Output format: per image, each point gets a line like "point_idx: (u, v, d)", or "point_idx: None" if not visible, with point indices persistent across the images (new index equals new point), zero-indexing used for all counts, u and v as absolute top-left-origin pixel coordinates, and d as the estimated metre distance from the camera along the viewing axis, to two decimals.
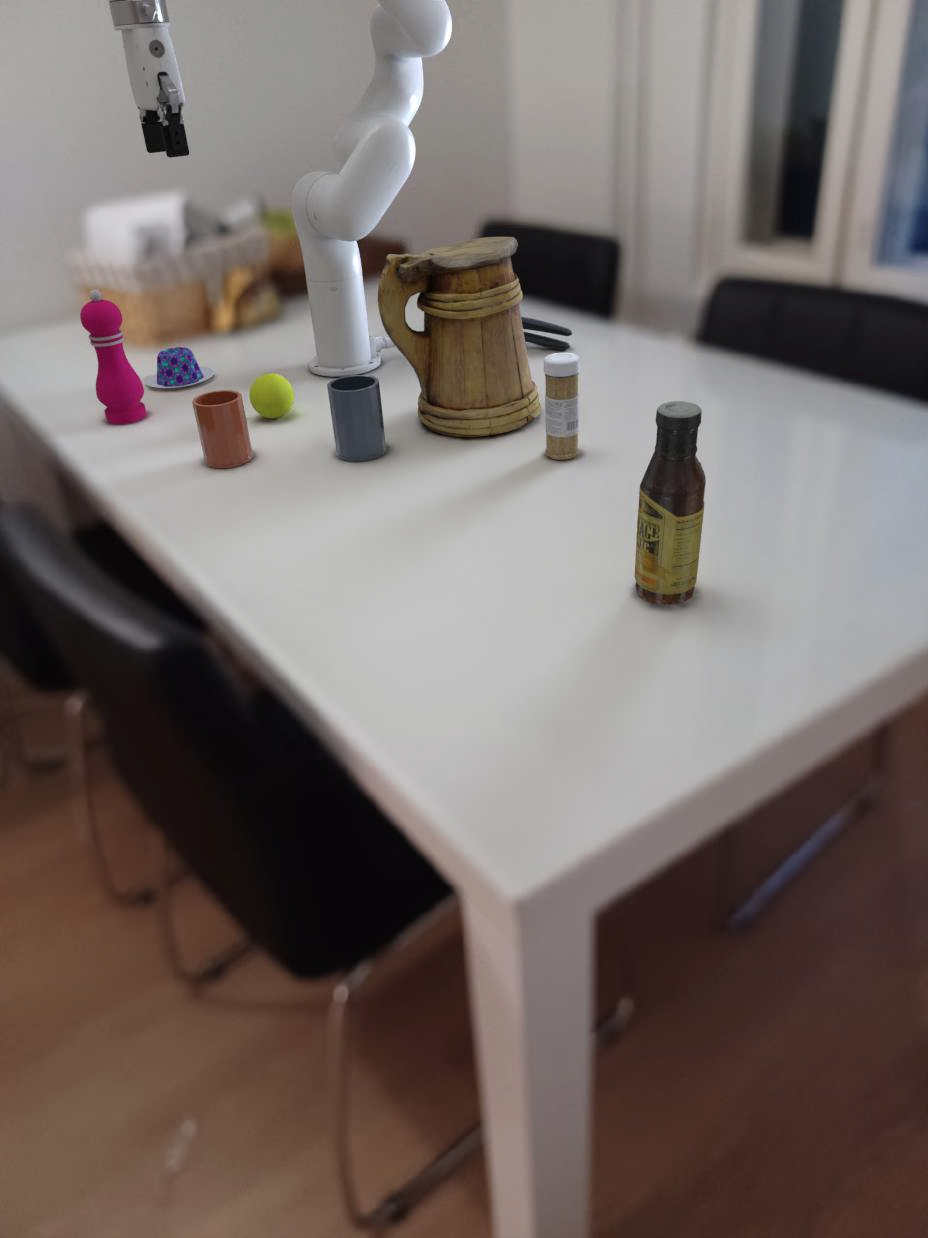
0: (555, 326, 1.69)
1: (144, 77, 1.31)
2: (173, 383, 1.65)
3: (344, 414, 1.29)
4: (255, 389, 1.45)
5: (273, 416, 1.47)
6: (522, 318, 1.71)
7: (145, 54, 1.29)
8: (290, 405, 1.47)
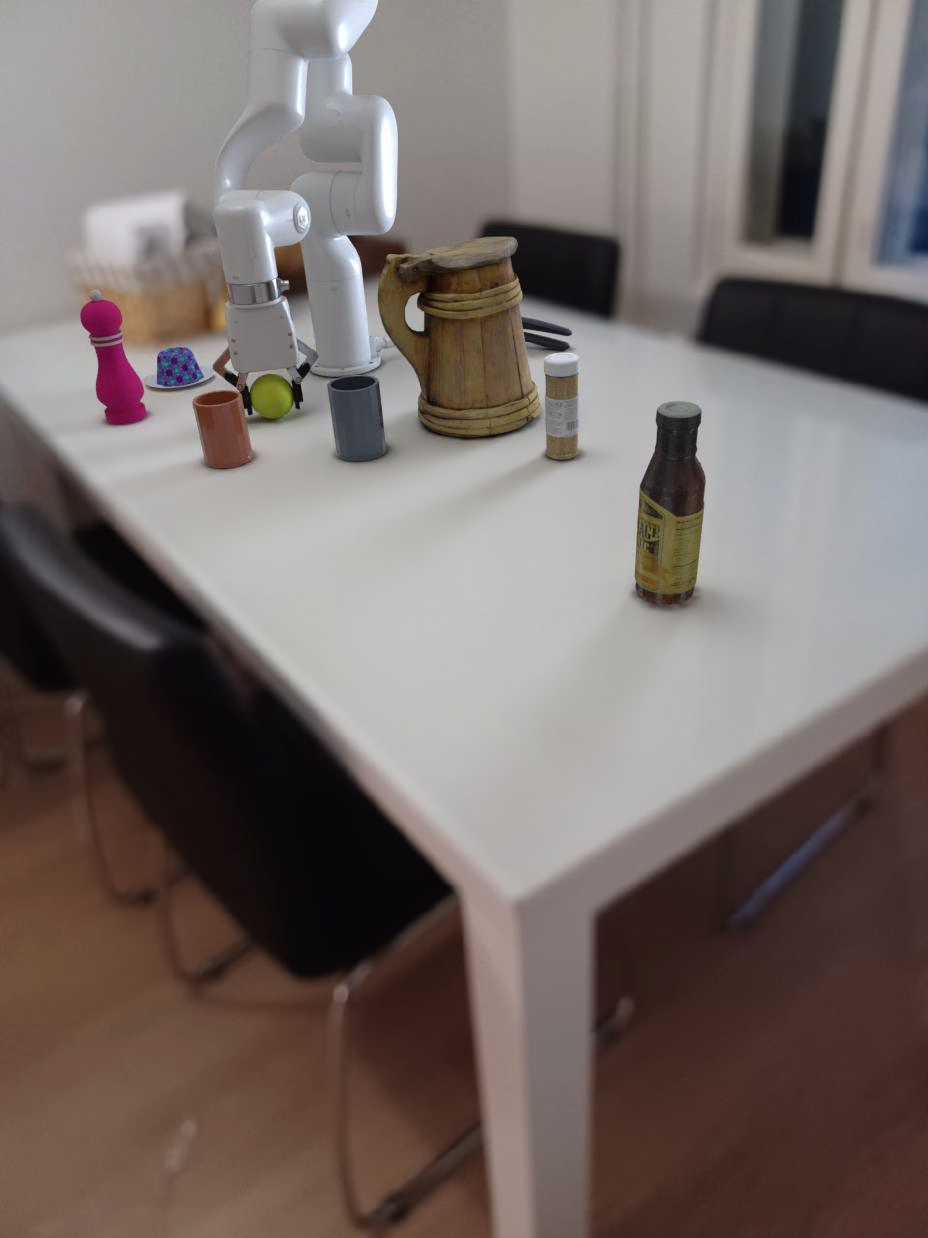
0: (555, 326, 1.69)
1: (289, 341, 1.42)
2: (173, 383, 1.65)
3: (344, 414, 1.29)
4: (255, 389, 1.45)
5: (273, 416, 1.47)
6: (522, 318, 1.71)
7: (291, 322, 1.41)
8: (290, 405, 1.47)
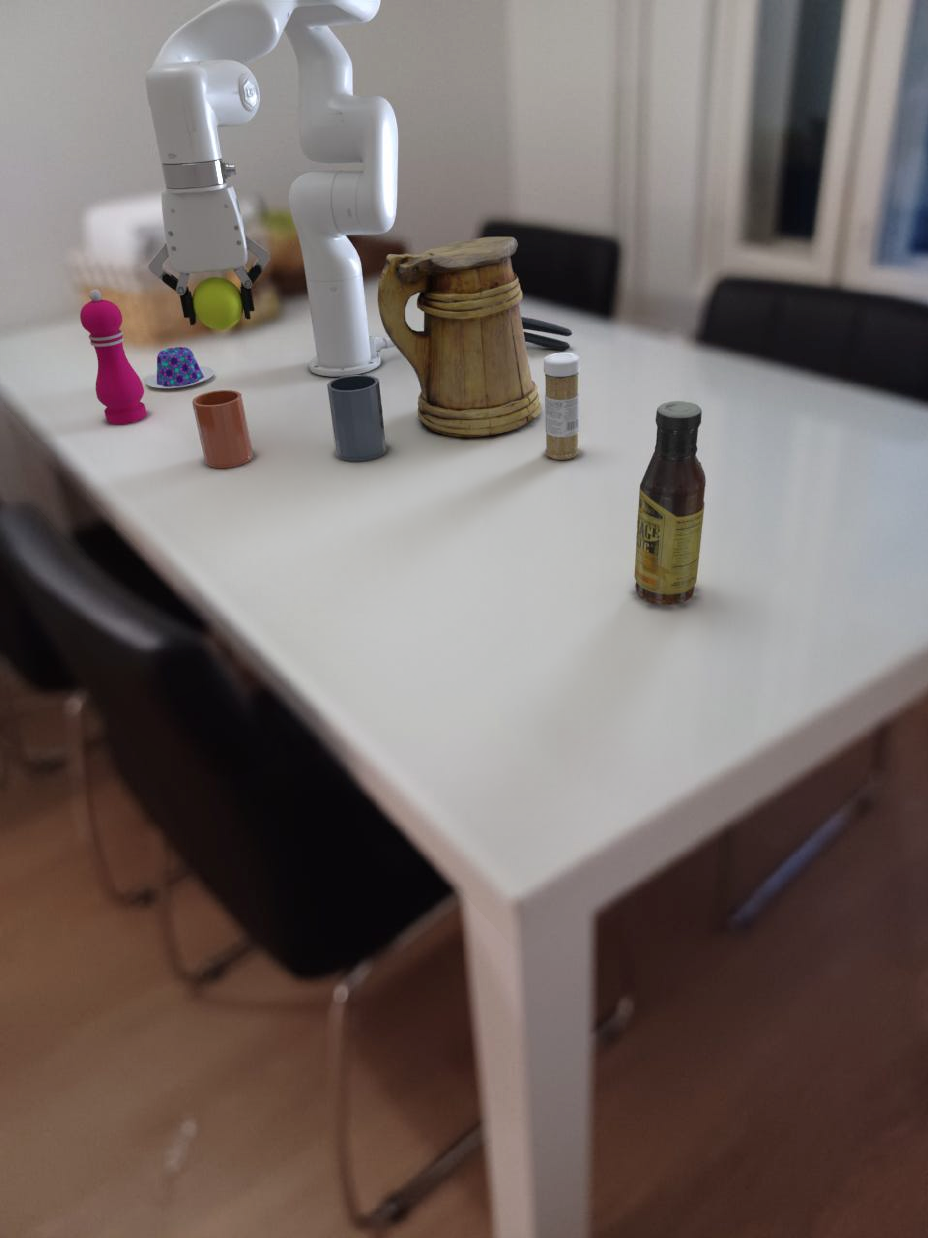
0: (555, 326, 1.69)
1: (235, 236, 1.24)
2: (173, 383, 1.65)
3: (344, 414, 1.29)
4: (198, 293, 1.26)
5: (219, 326, 1.29)
6: (522, 318, 1.71)
7: (237, 213, 1.23)
8: (238, 314, 1.29)
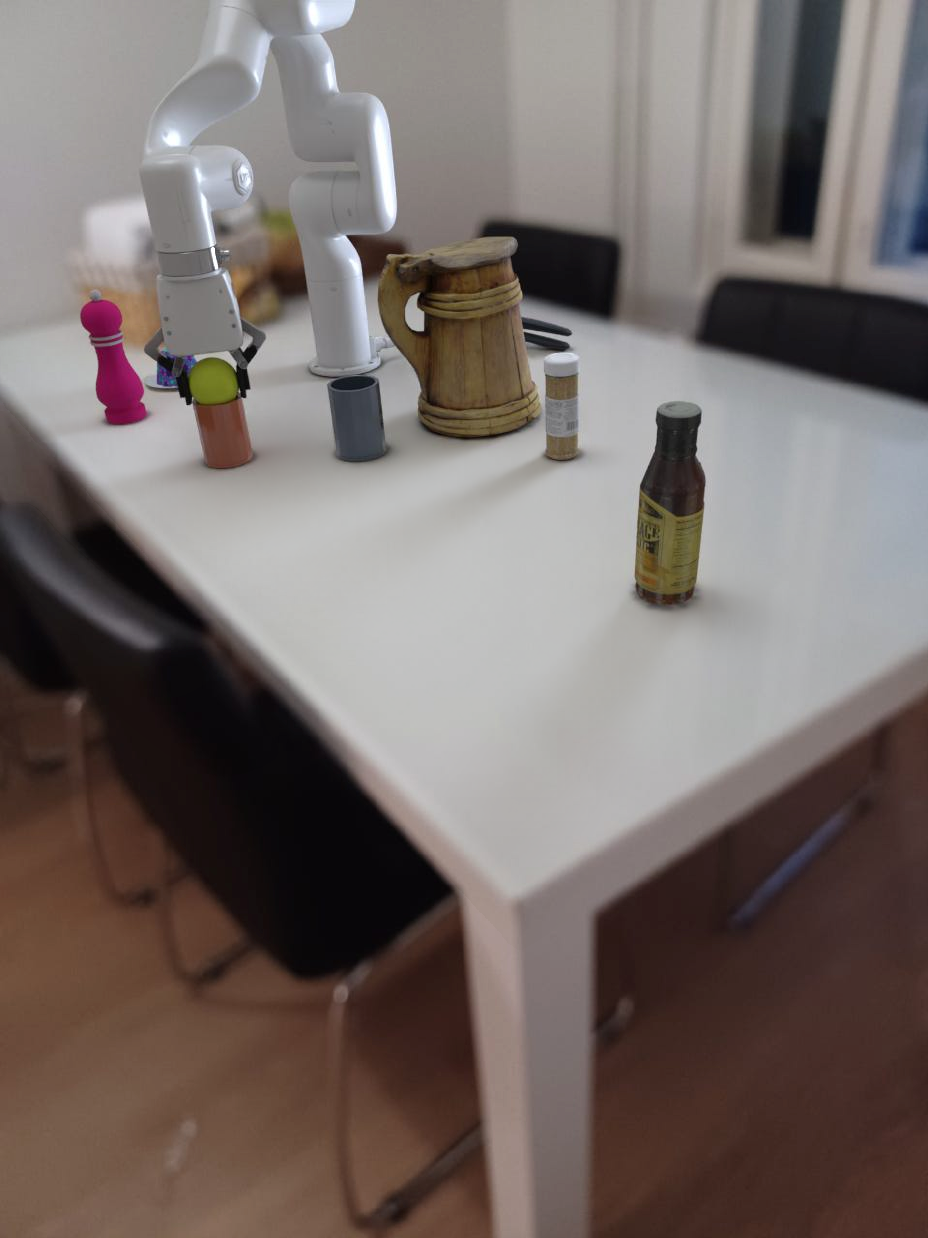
0: (555, 326, 1.69)
1: (231, 319, 1.24)
2: (173, 383, 1.65)
3: (344, 414, 1.29)
4: (194, 375, 1.27)
5: None
6: (522, 318, 1.71)
7: (232, 297, 1.23)
8: (234, 394, 1.29)
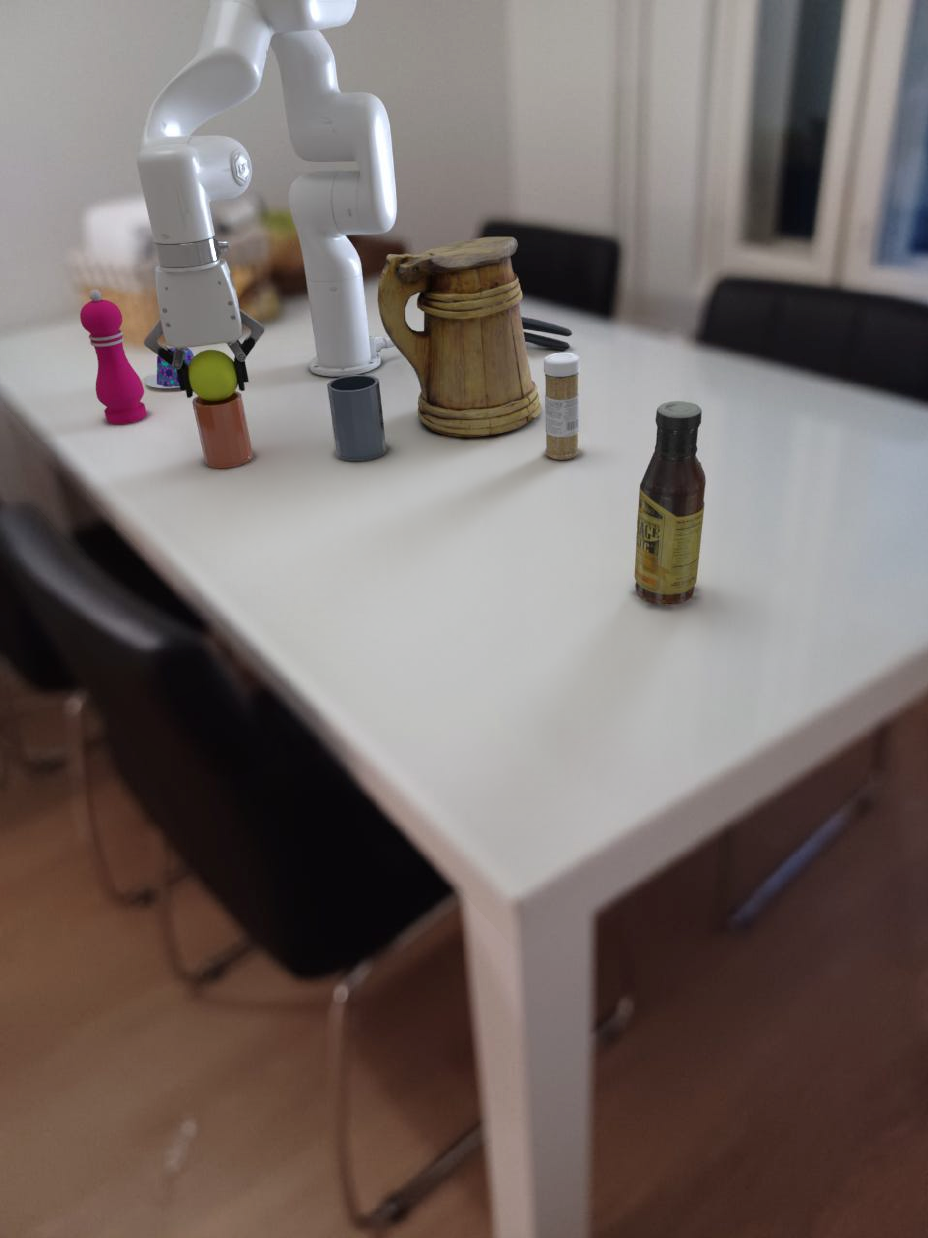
0: (555, 326, 1.69)
1: (230, 311, 1.23)
2: (173, 383, 1.65)
3: (344, 414, 1.29)
4: (193, 367, 1.26)
5: (214, 399, 1.29)
6: (522, 318, 1.71)
7: (231, 289, 1.22)
8: (234, 386, 1.29)
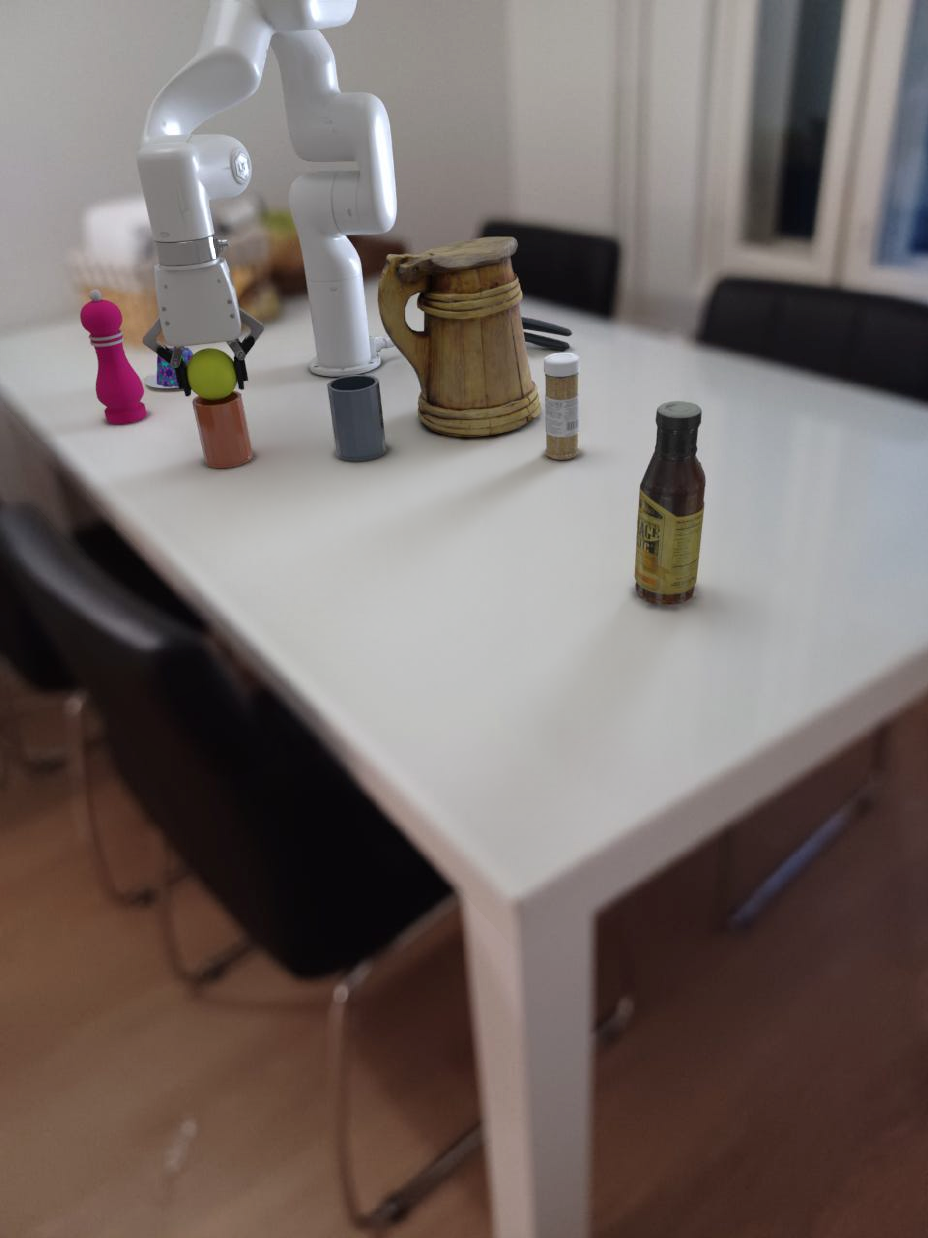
0: (555, 326, 1.69)
1: (229, 309, 1.23)
2: (173, 383, 1.65)
3: (344, 414, 1.29)
4: (192, 366, 1.26)
5: (213, 397, 1.28)
6: (522, 318, 1.71)
7: (230, 287, 1.22)
8: (233, 385, 1.29)
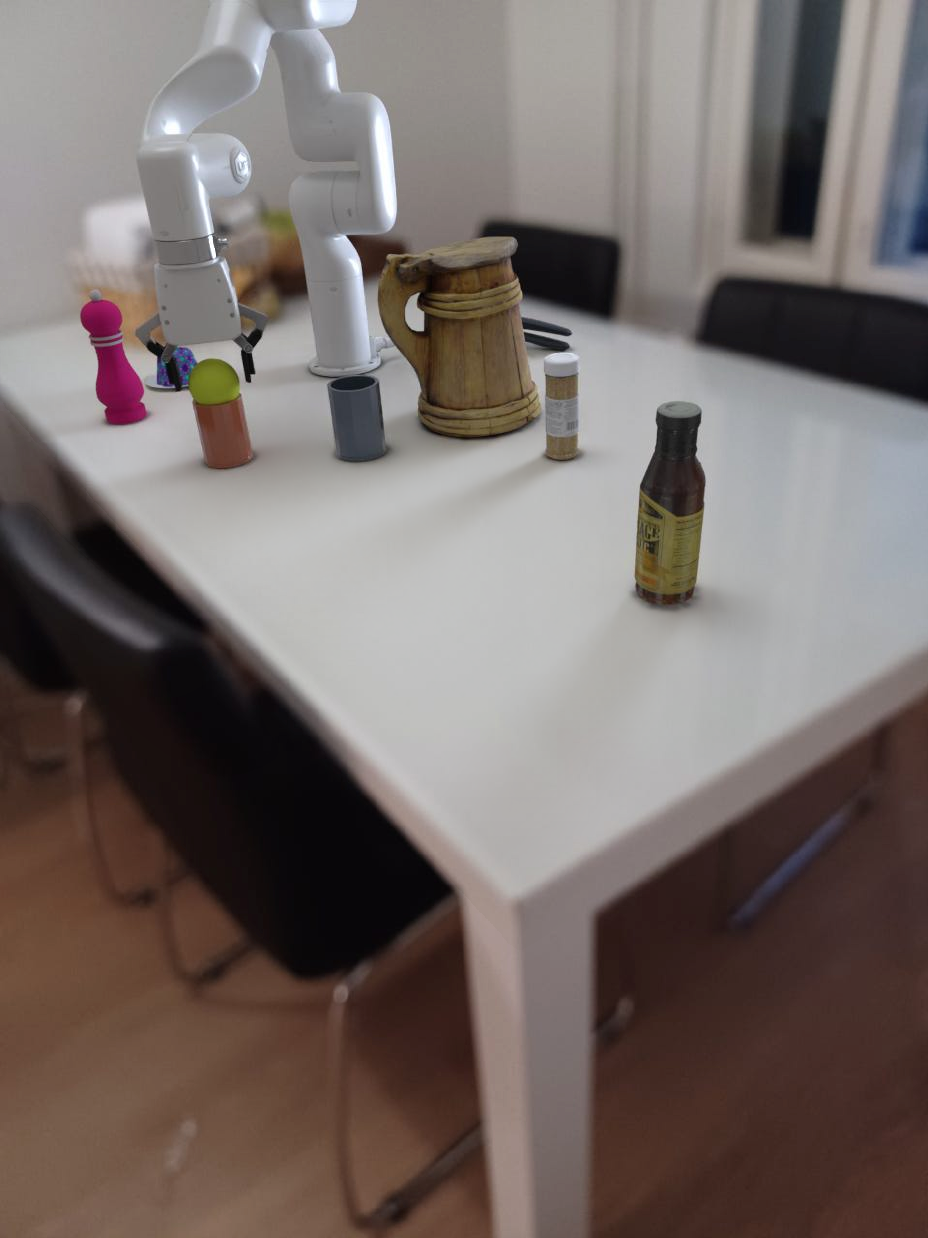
0: (555, 326, 1.69)
1: (229, 309, 1.23)
2: None
3: (344, 414, 1.29)
4: (194, 376, 1.27)
5: None
6: (522, 318, 1.71)
7: (230, 286, 1.22)
8: (235, 395, 1.29)
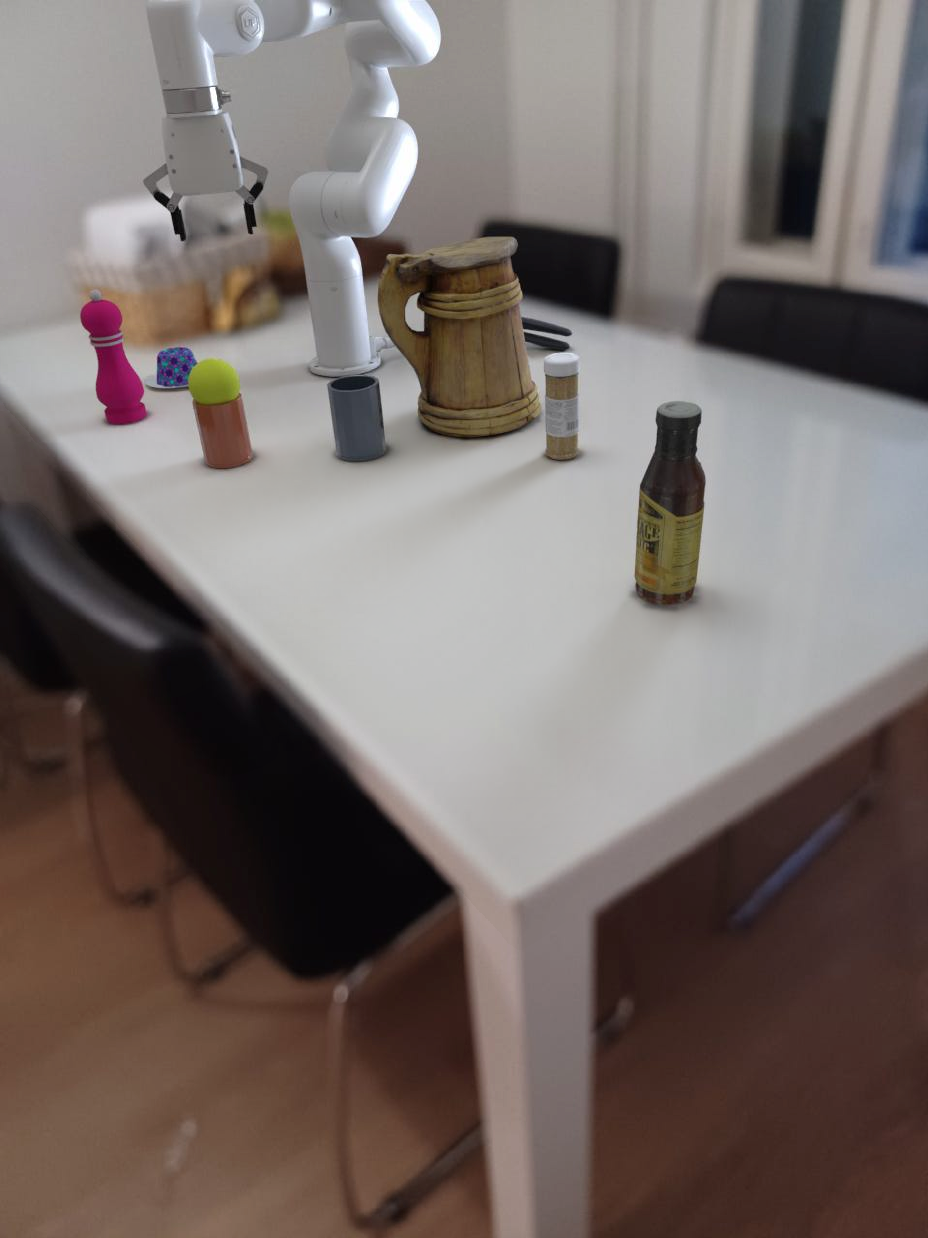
0: (555, 326, 1.69)
1: (231, 159, 1.33)
2: (173, 383, 1.65)
3: (344, 414, 1.29)
4: (194, 376, 1.27)
5: None
6: (522, 318, 1.71)
7: (233, 138, 1.32)
8: (235, 395, 1.29)
